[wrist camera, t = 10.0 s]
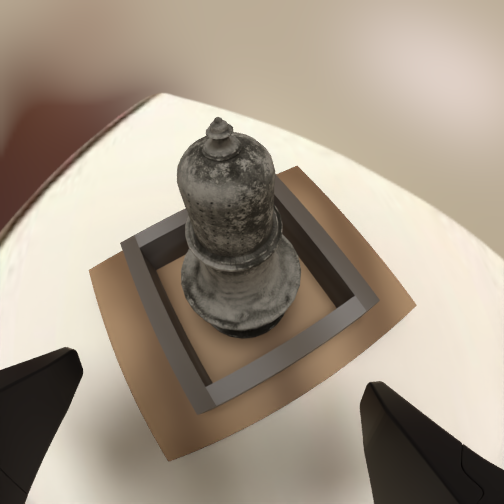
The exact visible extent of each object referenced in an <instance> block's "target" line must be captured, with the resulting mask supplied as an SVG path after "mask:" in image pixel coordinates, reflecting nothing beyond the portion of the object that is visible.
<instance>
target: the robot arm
mask: <svg viewBox="0 0 504 504" xmlns="http://www.w3.org/2000/svg"><path fill="white" fill-rule="evenodd" d="M82 376H83V368H82V365H81V362H80V359H79V356H78V353H77V352H76V350H74V349H71V348H68V347H64V348H61V349H58V350H56V351H53V352H50V353H47V354H45V355H42V356H39V357H36V358H33V359H31V360H28V361H25V362H22V363H19V364H16V365H14V366H11V367H8V368H5V369H2V370H0V504H25V502H26V499H27V496H28V493H29V491H30V488H31V486H32V484H33V481H34V479H35V477H36V474H37V472H38V470H39V467H40V465H41V463H42V461H43V459H44V457H45V454H46V452H47V450H48V448H49V446H50V444H51V442H52V440H53V438H54V436H55V434H56V432H57V430H58V428H59V426H60V424H61V422H62V420H63V418H64V416H65V415H66V413H67V411H68V409H69V406H70V404H71V401H72V399H73V397H74V394H75V392H76V389H77V387H78V385H79V383H80V380H81V378H82ZM360 415H361V424H362V434H363V445H364V453H365V458H366V463H367V468H368V473H369V478H370V483H371V488H372V494H373V500H374V504H504V470H503V469H501V468H499V467H497V466H496V465H494V464H492V463H490V462H489V461H487V460H485V459H484V458H482V457H481V456H479V455H478V454H477V453H475V452H474V451H472V450H471V449H470V448H468V447H467V446H465V445H464V444H463V445H462V443H461V442H460V441H459V440H457V439H456V438H455V437H453V436H452V435H451V434H449V433H448V432H447V431H445V430H444V429H443V428H441V427H440V426H439V425H437V424H436V423H435V422H434V421H432V420H431V419H430V418H428V417H427V416H426V415H424V414H423V413H422V412H421V411H419V410H418V409H417V408H415V407H414V406H413V405H412V404H410V403H409V402H408V401H406V400H405V399H404V398H403V397H401V396H400V395H399V394H397V393H396V392H395V391H394V390H392V389H391V388H390V387H389V386H387V385H386V384H385V383H383V382H381V381H378V382H370V383H368V384H367V386H366V389H365V391H364V394H363V397H362V399H361V402H360Z"/></svg>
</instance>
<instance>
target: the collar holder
mask: <svg viewBox="0 0 504 504" xmlns="http://www.w3.org/2000/svg"><path fill="white" fill-rule="evenodd" d="M274 205H275V206H276V208H277V210H278V211H279V213H280V215H281V219H282V224H283V230H282V234H283V235H284V236H285V237H286V238H287V239H288V240H289V242H290V243H291V244H292V245H293V247H294V249H295V251H296V253H297V255H298V257H299V262H300V267H301V280H300V287H299V289H298V292H297V294H296V297H295V300H294V301H293V302H292V304H291V305H290V306H289V308H288V309H287V310H286V312H285V313H284V316H283V317H282V319H281V320H280V321H279V323H278V324H277V325H276V326H275V327H274V328H272V329H271V330H270V331H268V332H267V333H265V334H262V335H260V336H257V337H254V338H245V339H241V338H235V337H230V336H228V335H225V334H223V333H221V332H219V331H218V330H217V329H216V328H214V327H213V326H212V325H211V324H210V323H208V322H206V321H205V320H204V319H203V318H202V317H200V316H199V315H198V314H197V313H196V312H194V310H193V309H192V307H191V306H190V304H189V303H188V301H187V300H186V298H185V295H184V292H183V288H182V285H181V268H182V265H183V261H184V257H185V255H186V253H187V252H188V250H189V247H188V243H187V240H186V237H185V225H186V222H187V219H188V213H187V210H186V209H184V210H182V211H180V212H178V213H176V214H174V215H172V216H170V217H168V218H166V219H164V220H162V221H160V222H158V223H156V224H154V225H152V226H150V227H149V228H147V229H145V230H143V231H141V232H139V233H137V234H136V235H134V236H132V237H130V238H128V239H127V240H125V241H123V242H121V243H120V244H121V247H122V250H123V251H121V252H119V253H118V254H116V255H114V256H112V257H110V258H109V259H107V260H105V261H104V262H102V263H100V264H98V265H97V266H95V267H93V268H92V269H90V270H89V273H90V277H91V281H92V285H93V288H94V292H95V295H96V299H97V302H98V306H99V309H100V312H101V315H102V318H103V322H104V325H105V328H106V330H107V333H108V336H109V339H110V342H111V344H112V347H113V350H114V352H115V355H116V358H117V360H118V363H119V365H120V368H121V370H122V372H123V375H124V377H125V379H126V382H127V384H128V386H129V388H130V391H131V393H132V395H133V397H134V399H135V401H136V403H137V405H138V407H139V410H140V412H141V414H142V415H143V417H144V419H145V421H146V423H147V425H148V427H149V429H150V431H151V432H152V434H153V436H154V438H155V440H156V441H157V443H158V445H159V447H160V448H161V450H162V452H163V453H164V455H165V457H166V458H167V460H168V461H172V460H174V459H177V458H179V457H182V456H185V455H187V454H190V453H192V452H194V451H197V450H199V449H202V448H204V447H206V446H208V445H211V444H213V443H215V442H217V441H219V440H222V439H224V438H226V437H228V436H230V435H232V434H234V433H236V432H238V431H240V430H242V429H244V428H246V427H248V426H250V425H252V424H254V423H255V422H257V421H259V420H261V419H263V418H265V417H266V416H268V415H270V414H272V413H273V412H275V411H277V410H279V409H280V408H282V407H284V406H285V405H287V404H289V403H290V402H292V401H294V400H295V399H297V398H298V397H300V396H302V395H303V394H305V393H306V392H308V391H309V390H311V389H312V388H314V387H315V386H317V385H318V384H320V383H321V382H323V381H324V380H326V379H327V378H329V377H330V376H331V375H333V374H334V373H336V372H337V371H338V370H340V369H341V368H343V367H344V366H345V365H347V364H348V363H349V362H351V361H352V360H353V359H355V358H356V357H357V356H358V355H360V354H361V353H362V352H364V351H365V350H366V349H367V348H369V347H370V346H371V345H372V344H374V343H375V342H376V341H377V340H378V339H380V338H381V337H382V336H383V335H384V334H386V333H387V332H388V331H389V330H390V329H391V328H392V327H394V326H395V325H396V324H397V323H398V322H399V321H400V320H401V319H403V318H404V317H405V316H406V315H407V314H408V313H409V312H410V311H411V310H412V309H413V308H414V307H415V306H417V305H416V304H415V302H414V301H413V300H412V298H411V297H410V295H409V294H408V293H407V291H406V290H405V289H404V287H403V286H402V285H401V283H400V282H399V281H398V279H397V278H396V277H395V276H394V274H393V273H392V272H391V270H390V269H389V268H388V267H387V265H386V264H385V263H384V262H383V260H382V259H381V258H380V257H379V255H378V254H377V253H376V252H375V251H374V249H373V248H372V247H371V246H370V244H369V243H368V242H367V241H366V240H365V239H364V237H363V236H362V235H361V234H360V233H359V231H358V230H357V229H356V228H355V227H354V226H353V225H352V223H351V222H350V221H349V220H348V219H347V218H346V217H345V216H344V214H343V213H342V212H341V211H340V210H339V209H338V208H337V207H336V206H335V204H334V203H333V202H332V201H331V200H330V199H329V198H328V197H327V196H326V195H325V194H324V193H323V192H322V191H321V189H320V188H319V187H318V186H317V185H316V184H315V183H314V182H313V181H312V180H311V179H310V178H309V177H308V176H307V175H306V174H305V173H304V172H303V171H302V170H301V169H300V168H299V167H298V166H295V167H293V168H291V169H288V170H286V171H284V172H281V173H279V174H277V175H276V174H275V184H274Z"/></svg>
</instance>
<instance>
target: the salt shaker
mask: <svg viewBox="0 0 504 504" xmlns="http://www.w3.org/2000/svg"><path fill="white" fill-rule="evenodd" d="M206 135H207V136H205V137H203V138H201V139H199V140H197V141H196V142H194V143H193V144H192V145H191V146H190V147H189V148H188V149H187V150H186V151H185V153H184V154H183V156H182V158H181V160H180V162H179V164H178V168H177V184H178V187H179V190H180V193H181V196H182V199H183V202H184V204H185V207H186V210H187V213H188V219H187V222H186V225H185V237H186V240H187V243H188V247H189V250H188V252H187V253H186V255H185V257H184V261H183V265H182V268H181V285H182V288H183V292H184V295H185V298H186V300H187V301H188V303H189V304H190V306H191V307H192V309H193V310H194V312H196V313H197V314H198V315H199V316H200V317H202V318H203V319H204V320H205V321H206V322H208V323H210V324H211V325H212V326H213V327H214V328H216V329H217V330H218V331H219V332H221V333H223V334H225V335H228V336H230V337H235V338H241V339H245V338H254V337H257V336H260V335H262V334H265V333H267V332H268V331H270V330H271V329H272V328H274V327H275V326H276V325H277V324H278V323H279V321H280V320H281V319H282V317H283V316H284V313H285V312H286V310H287V309H288V308H289V306H290V305H291V304H292V302H293V301H294V300H295V297H296V294H297V292H298V289H299V287H300V280H301V267H300V262H299V257H298V255H297V253H296V251H295V249H294V247H293V245H292V244H291V243H290V242H289V240H288V239H287V238H286V237H285V236H284V235H283V234H282V230H283V224H282V219H281V215H280V213H279V211H278V210H277V208H276V206H275V205H274V184H275V169H274V165H273V161H272V158H271V155H270V154H269V152H268V151H267V149H266V148H265V147H264V146H263V145H261V144H260V143H259V142H258V141H256V140H255V139H254V138H252V137H250V136H247V135H245V134H241V133H236V132H233V127H232V126H231V125H229V124H227V122H226V121H224V120H222V119H221V118H220V117H216V118H215V119H214V121H213V122H212V123H211V124H210V126H209V127H208V129H207V130H206Z"/></svg>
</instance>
